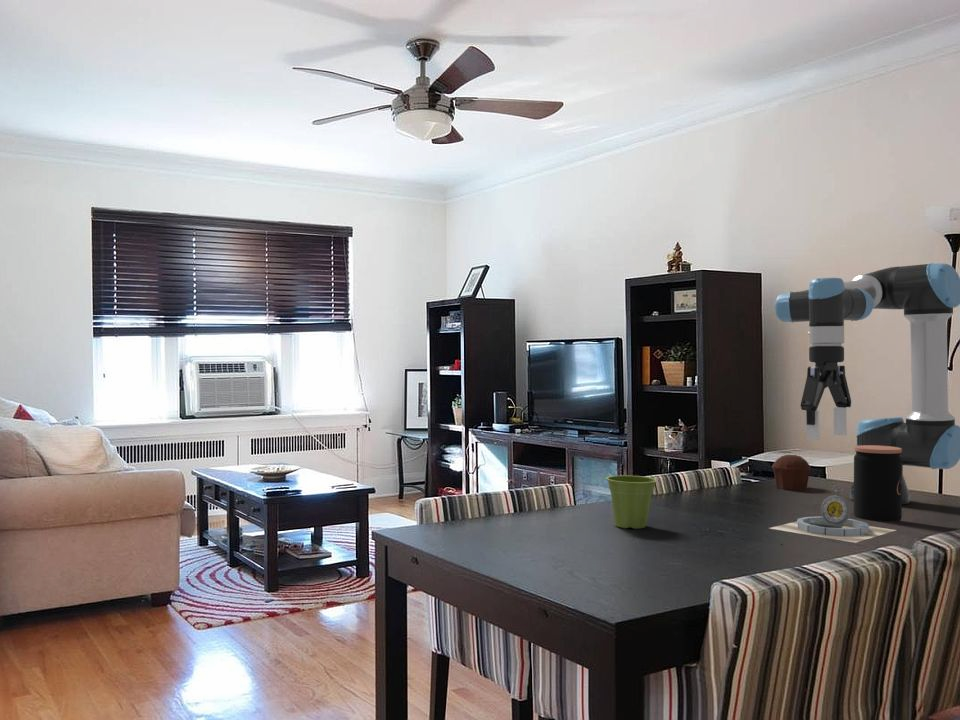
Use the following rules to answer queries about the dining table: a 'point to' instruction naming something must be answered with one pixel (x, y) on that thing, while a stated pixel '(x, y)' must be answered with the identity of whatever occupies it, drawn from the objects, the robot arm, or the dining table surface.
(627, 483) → the plant pot
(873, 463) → the coffee jar
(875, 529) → the ash board
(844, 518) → the pocket watch
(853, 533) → the slate ring
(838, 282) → the robot arm
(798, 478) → the muffin
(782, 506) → the dining table surface
